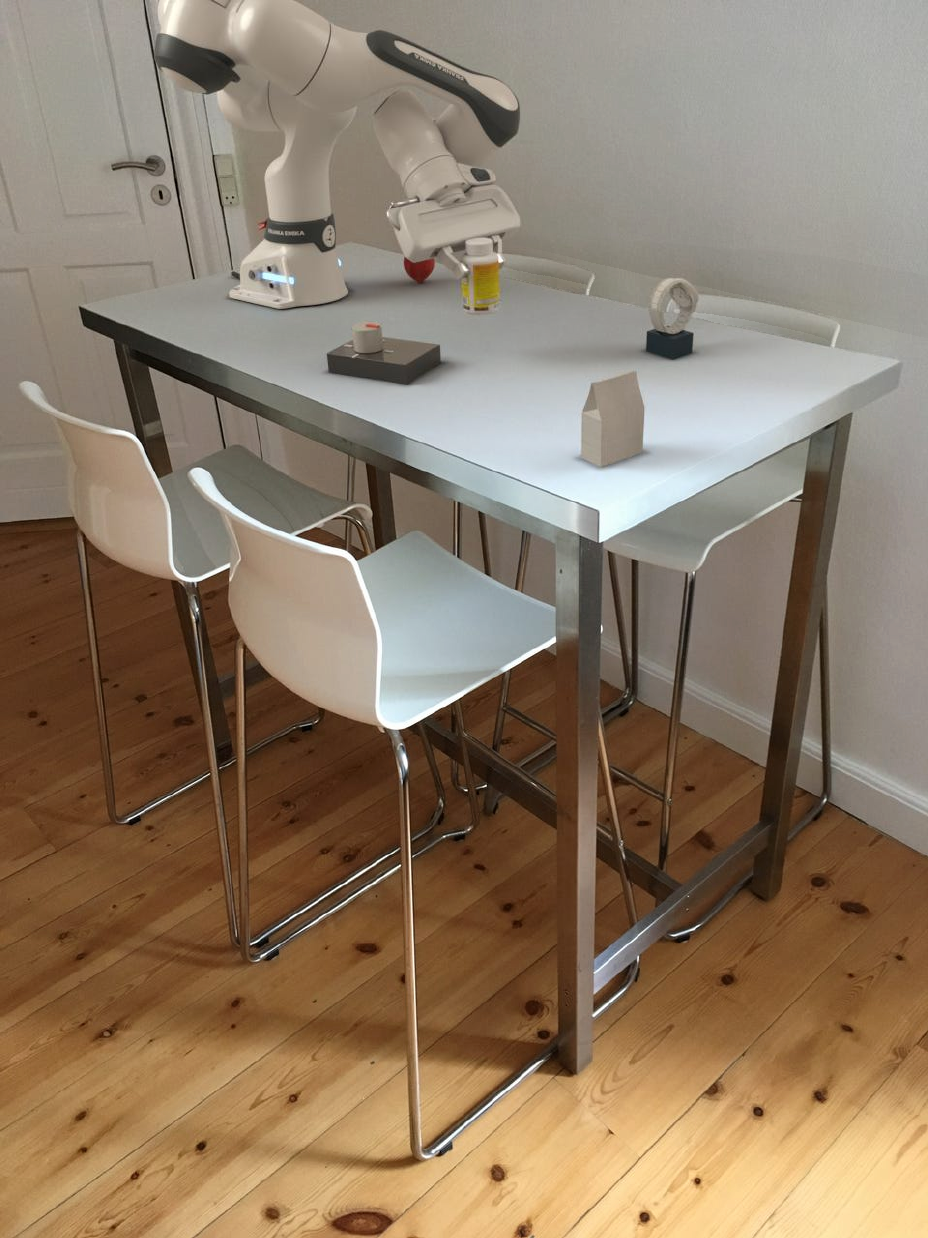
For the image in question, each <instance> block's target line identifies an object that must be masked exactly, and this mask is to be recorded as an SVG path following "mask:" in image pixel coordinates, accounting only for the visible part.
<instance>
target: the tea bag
mask: <svg viewBox="0 0 928 1238" xmlns="http://www.w3.org/2000/svg"><path fill="white" fill-rule="evenodd" d="M637 373H638V372H637V371H636V370H630V371H629V372H624V373H621V374H618V375H614V376H611V377H607V378H604V379H601V380H597V381H594V382H591V383H590V386H589V391H588V395H587V397H586V399H585V403H584V406H583V408H582V411H581V425H580V426H581V427H580V428H581V430H580V431H581V433H580V437H581V438H580V459H582V460H584V461H586V462H588V463H591V464H592V465H593V466H597V467H598V468H604V467H606V466H610V465H611V464H616V463H618V462H621V461H625V460H627V459H629V458H632V457H635V456H638V455H641V454H643V448H644V429H645V427H644V426H645V410H646V409H645V403H644V401H643V396H642V392H641V389H640V384H639V381H638V374H637Z"/></svg>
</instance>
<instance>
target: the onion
mask: <svg viewBox="0 0 928 1238" xmlns="http://www.w3.org/2000/svg"><path fill="white" fill-rule="evenodd" d="M435 265H436V261H435V258H432V259H428V260H424V261H420V262H416V263H413V262H411V261H410V260H408V259H407V258H406V257H405V256H404V257H403V267H404V271H405V273H406V274H407V276H408V277H409V278H410V279H412V280H413V281H415V282H416V283H419V284H422V283H424V282H425V281H426V280H427V279H428V278H429V277H430V276H431V274H432V273H433V272H434V269H435Z"/></svg>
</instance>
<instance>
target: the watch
mask: <svg viewBox="0 0 928 1238" xmlns="http://www.w3.org/2000/svg"><path fill="white" fill-rule="evenodd" d="M667 293H668V294H669V296H670V298H671V299H672V300H673V302H674V303H675V305H676V308H677V309H678V310H679V313H678V315H677V317H676V319H675V321H674V322H673V323H672V324H671V325H668V324H667V323H666V319H665V315H664V312H663V311H662V302H663V300H664V297H665V295H666V294H667ZM699 300H700V295H699V293H698V291H697V289H696V288H695V286H694V285H693V284H692V283H691V282H689V281H688V280H686V279H685V278H681V277H676V278H673V277H667V278H664V279H662V280H660V281H659V282H658V283H657V284H656V285H655V288H654V289H653V291H652V294H651V295H650V300H649V305H648V307H649V308H648V314H649V319H650V322H651V324H652V326H653V329H650V330H647V331H646V338H645V341H646V342H645V352H647V353H650V354H653V355H656V356H660V357H663V358H666V359H670V360H676V359H678V358H681V357H685V356H688V355H690V354H693V348H694V347H693V346H694V332H692V331H688V330H685V328H686V327H687V326H688V325H689V322H690V321H691V320H692V316H693V314H694V313H695V312H696V308H697V303H699Z"/></svg>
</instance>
